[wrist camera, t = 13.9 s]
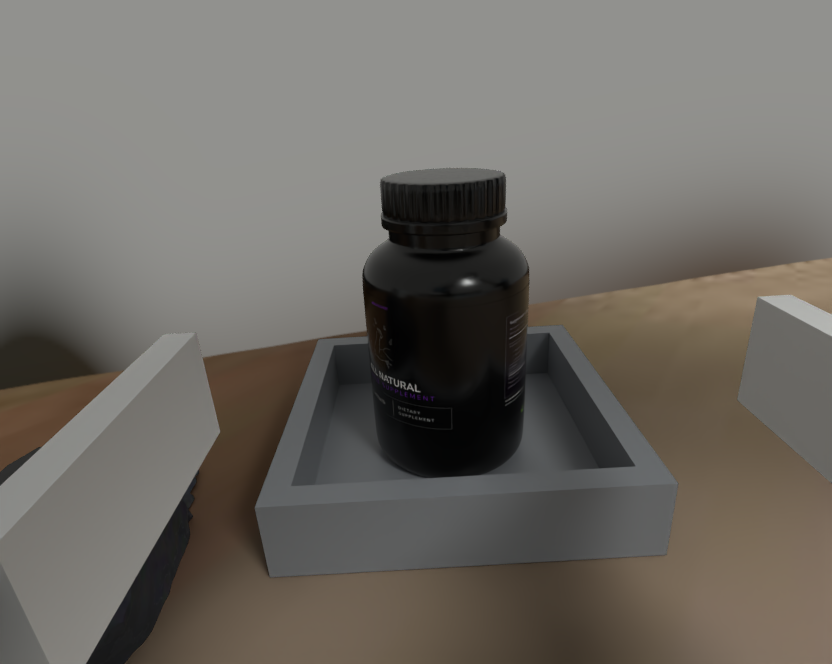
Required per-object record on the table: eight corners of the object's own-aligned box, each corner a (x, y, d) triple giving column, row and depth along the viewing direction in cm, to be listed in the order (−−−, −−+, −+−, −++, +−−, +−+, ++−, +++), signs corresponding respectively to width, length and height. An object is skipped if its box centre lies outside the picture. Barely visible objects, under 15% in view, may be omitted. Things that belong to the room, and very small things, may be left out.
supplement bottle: (358, 478, 23) (322, 190, 18) (398, 397, 29) (378, 167, 24) (522, 494, 21) (529, 183, 16) (527, 405, 27) (533, 160, 23)
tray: (559, 373, 32) (562, 324, 30) (666, 555, 19) (678, 483, 17) (325, 386, 32) (318, 339, 30) (269, 577, 19) (254, 507, 18)
